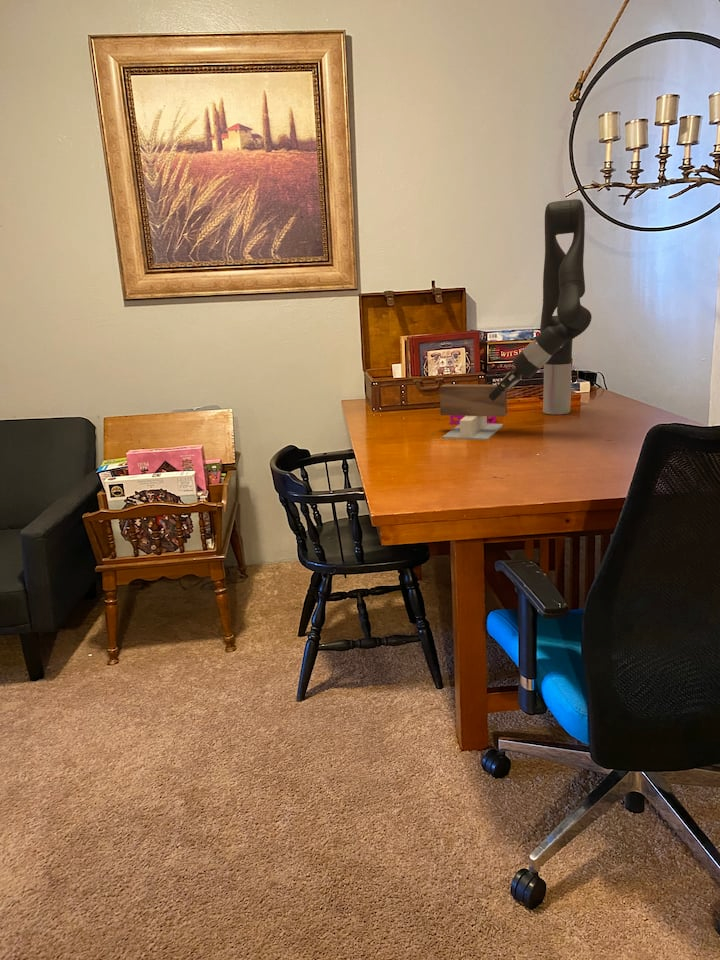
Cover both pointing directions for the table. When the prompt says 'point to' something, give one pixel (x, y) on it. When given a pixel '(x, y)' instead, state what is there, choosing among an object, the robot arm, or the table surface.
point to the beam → (472, 400)
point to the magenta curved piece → (489, 420)
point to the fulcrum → (473, 429)
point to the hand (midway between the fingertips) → (494, 396)
